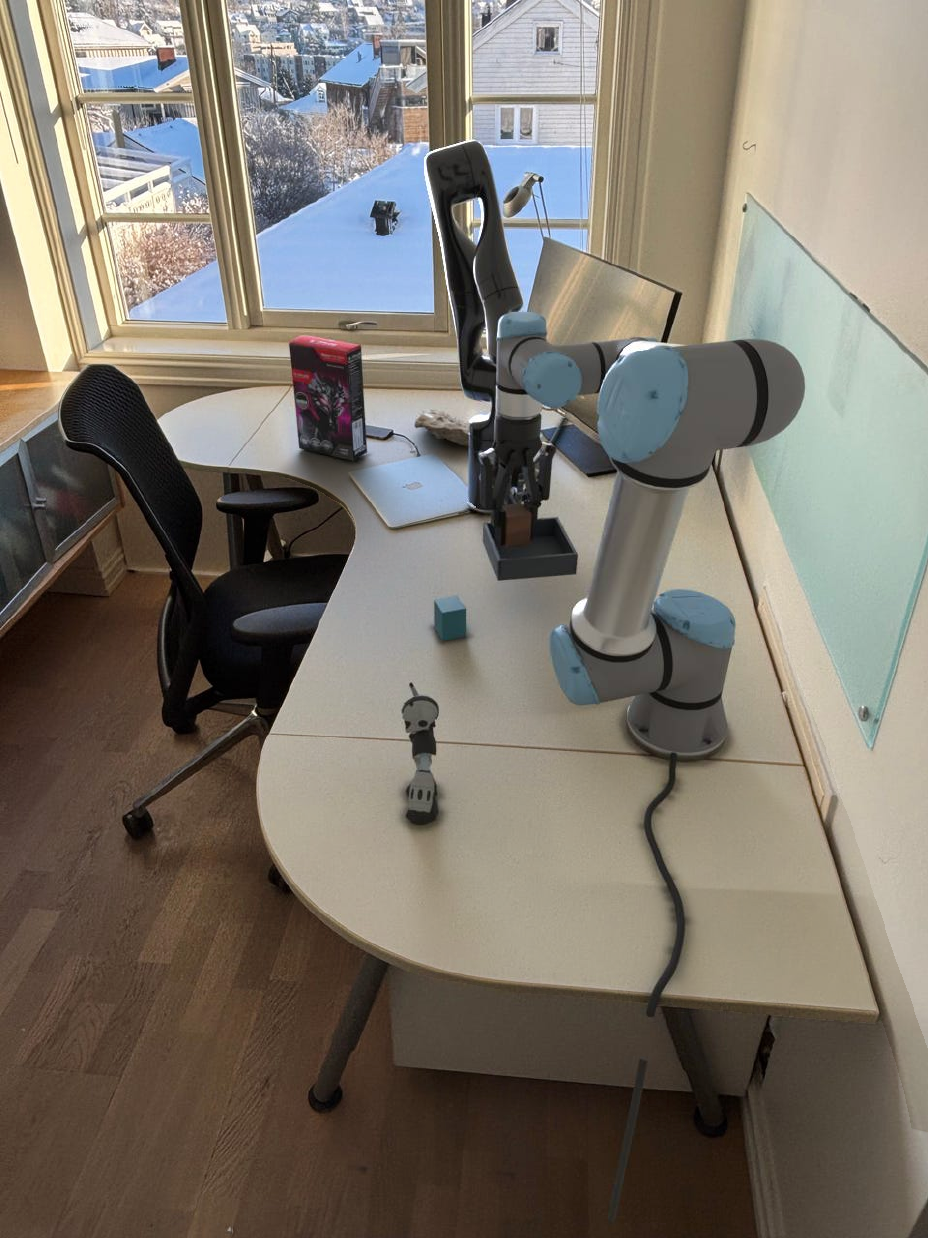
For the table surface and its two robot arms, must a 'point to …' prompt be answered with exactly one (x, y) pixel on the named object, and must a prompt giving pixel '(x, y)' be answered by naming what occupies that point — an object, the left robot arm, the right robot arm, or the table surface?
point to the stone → (444, 426)
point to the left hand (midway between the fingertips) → (510, 519)
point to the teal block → (450, 618)
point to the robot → (421, 756)
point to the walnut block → (517, 525)
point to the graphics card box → (329, 396)
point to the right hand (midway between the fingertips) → (513, 539)
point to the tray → (532, 552)
